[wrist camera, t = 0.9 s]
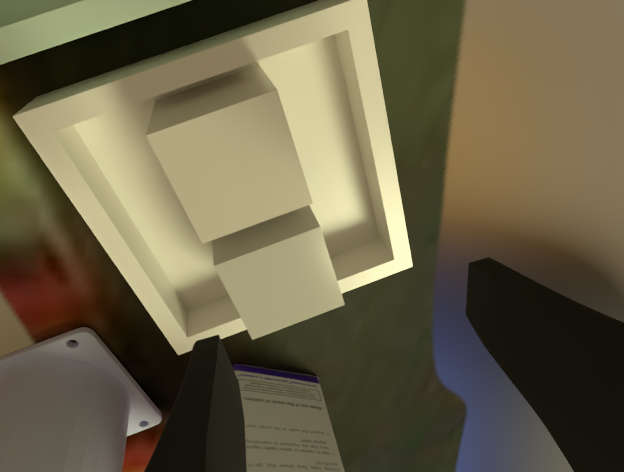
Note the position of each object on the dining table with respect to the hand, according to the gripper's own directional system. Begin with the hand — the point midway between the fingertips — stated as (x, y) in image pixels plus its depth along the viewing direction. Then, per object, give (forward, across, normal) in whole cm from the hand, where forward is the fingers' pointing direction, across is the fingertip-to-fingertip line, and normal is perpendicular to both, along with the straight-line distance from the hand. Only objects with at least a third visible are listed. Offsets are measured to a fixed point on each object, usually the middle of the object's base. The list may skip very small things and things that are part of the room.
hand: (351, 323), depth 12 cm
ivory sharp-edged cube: (+8, +2, -3) cm, 9 cm away
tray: (+9, +2, -1) cm, 9 cm away
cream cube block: (+8, +2, +2) cm, 9 cm away
